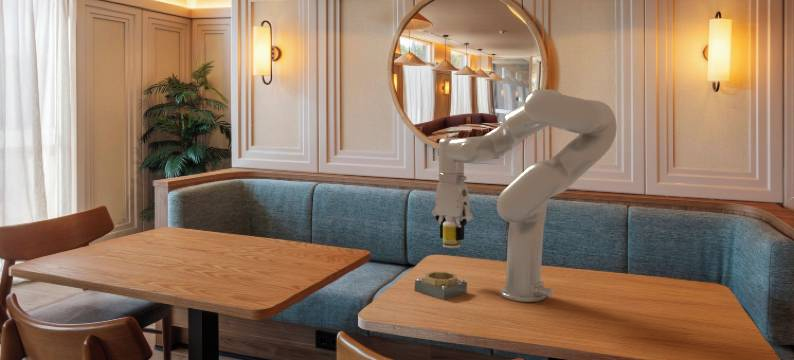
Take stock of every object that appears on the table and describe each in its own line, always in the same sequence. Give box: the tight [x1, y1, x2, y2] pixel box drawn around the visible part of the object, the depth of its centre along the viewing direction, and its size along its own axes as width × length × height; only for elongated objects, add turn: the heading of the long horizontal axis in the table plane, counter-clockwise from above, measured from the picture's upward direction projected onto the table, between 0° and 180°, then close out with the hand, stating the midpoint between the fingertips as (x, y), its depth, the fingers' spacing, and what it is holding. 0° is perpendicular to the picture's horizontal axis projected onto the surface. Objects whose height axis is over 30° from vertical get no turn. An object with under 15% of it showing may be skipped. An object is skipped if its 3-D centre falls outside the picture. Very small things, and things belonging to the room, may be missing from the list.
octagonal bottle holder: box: [414, 271, 468, 301], centre depth 169 cm, size 11×10×5 cm
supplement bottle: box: [442, 216, 462, 249], centre depth 179 cm, size 5×5×10 cm
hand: (451, 238), depth 179 cm, fingers closed on supplement bottle, 5 cm apart
